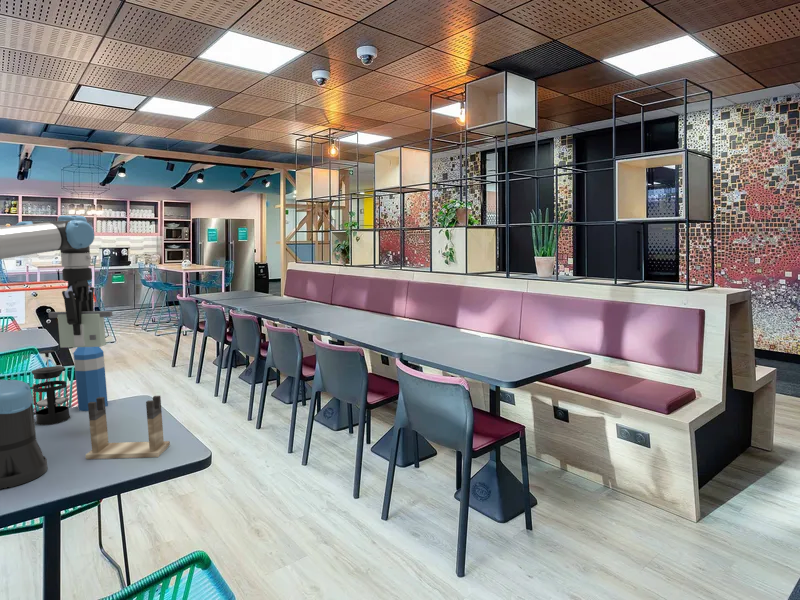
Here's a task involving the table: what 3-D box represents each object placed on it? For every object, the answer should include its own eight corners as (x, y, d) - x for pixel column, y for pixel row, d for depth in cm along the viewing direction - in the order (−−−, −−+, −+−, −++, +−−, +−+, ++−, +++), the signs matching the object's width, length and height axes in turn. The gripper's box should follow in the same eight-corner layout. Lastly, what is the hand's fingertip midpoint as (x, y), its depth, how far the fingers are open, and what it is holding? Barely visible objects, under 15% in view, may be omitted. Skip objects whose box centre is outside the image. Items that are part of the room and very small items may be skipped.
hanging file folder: (48, 348, 159) (45, 313, 158) (56, 345, 163) (53, 311, 162) (109, 347, 160) (107, 312, 159) (115, 344, 164) (113, 310, 162)
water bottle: (86, 413, 178) (80, 340, 175) (72, 408, 183) (65, 337, 180) (113, 405, 186) (108, 335, 183) (99, 401, 191) (93, 333, 188)
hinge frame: (85, 459, 141) (80, 405, 139) (101, 447, 149) (97, 395, 147) (158, 457, 142) (154, 403, 140) (169, 445, 150) (166, 394, 148)
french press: (72, 413, 179) (66, 346, 176) (72, 421, 171) (66, 351, 168) (30, 419, 173) (23, 350, 170) (28, 428, 165) (20, 356, 162)
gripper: (74, 268, 151) (81, 349, 154) (103, 265, 167) (108, 339, 170) (47, 269, 151) (54, 350, 153) (78, 266, 167) (84, 339, 169)
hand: (83, 344), depth 162 cm, fingers closed on hanging file folder, 3 cm apart
